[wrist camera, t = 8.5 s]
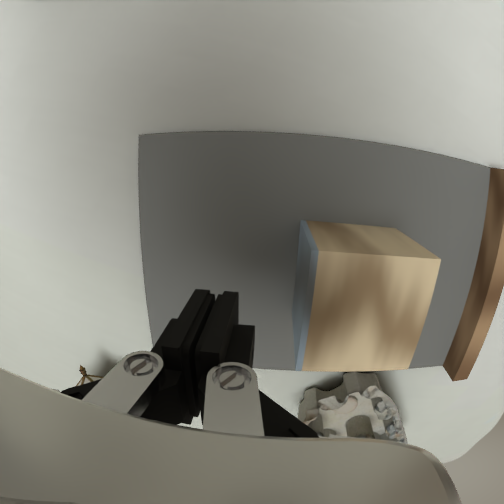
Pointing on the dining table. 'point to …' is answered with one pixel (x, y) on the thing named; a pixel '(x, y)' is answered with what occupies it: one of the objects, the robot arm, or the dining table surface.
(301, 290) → the block
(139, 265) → the dining table surface
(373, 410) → the carved stone fragment
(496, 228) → the rail
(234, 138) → the grey rectangular board
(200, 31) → the dining table surface
